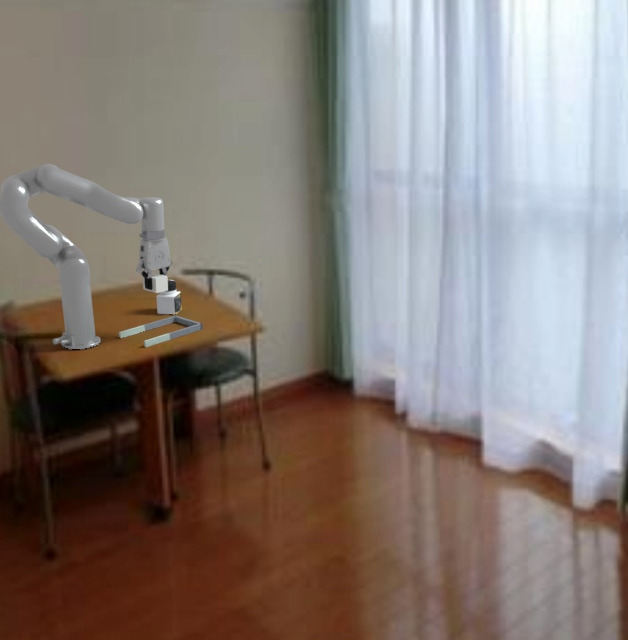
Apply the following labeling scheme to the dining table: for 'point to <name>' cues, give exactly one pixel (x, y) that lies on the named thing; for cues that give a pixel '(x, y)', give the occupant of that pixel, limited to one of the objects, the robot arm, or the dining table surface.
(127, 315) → the dining table surface
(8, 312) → the dining table surface
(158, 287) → the white block
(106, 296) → the dining table surface
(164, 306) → the medicine bottle
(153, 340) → the bay
